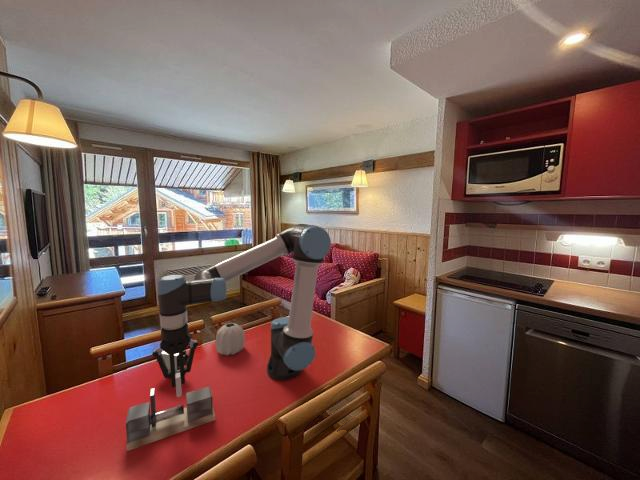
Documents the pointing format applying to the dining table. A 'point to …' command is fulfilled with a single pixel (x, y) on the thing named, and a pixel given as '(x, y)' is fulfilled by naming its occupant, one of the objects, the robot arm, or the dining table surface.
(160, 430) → the base
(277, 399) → the dining table surface
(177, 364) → the pneumatic valve
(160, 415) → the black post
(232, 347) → the vase
